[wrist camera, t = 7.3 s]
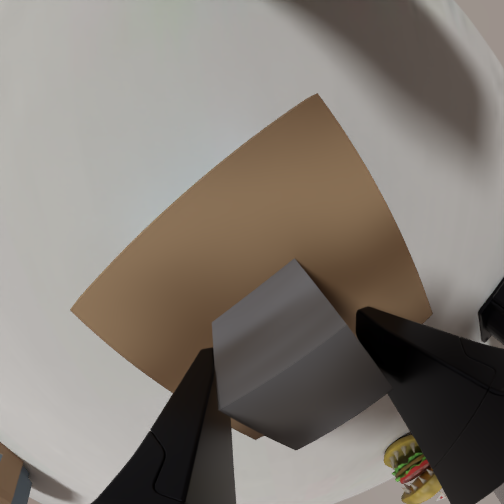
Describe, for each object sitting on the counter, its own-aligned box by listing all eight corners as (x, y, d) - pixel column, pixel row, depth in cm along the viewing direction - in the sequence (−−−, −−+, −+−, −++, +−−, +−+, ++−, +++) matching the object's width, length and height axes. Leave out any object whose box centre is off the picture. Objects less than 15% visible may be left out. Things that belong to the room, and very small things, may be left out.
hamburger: (404, 426, 25) (447, 495, 14) (433, 421, 27) (473, 477, 16) (367, 461, 27) (400, 525, 16) (399, 453, 29) (431, 508, 18)
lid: (422, 305, 11) (482, 358, 7) (252, 427, 12) (269, 499, 8) (307, 97, 7) (391, 61, 3) (78, 298, 8) (24, 380, 4)
